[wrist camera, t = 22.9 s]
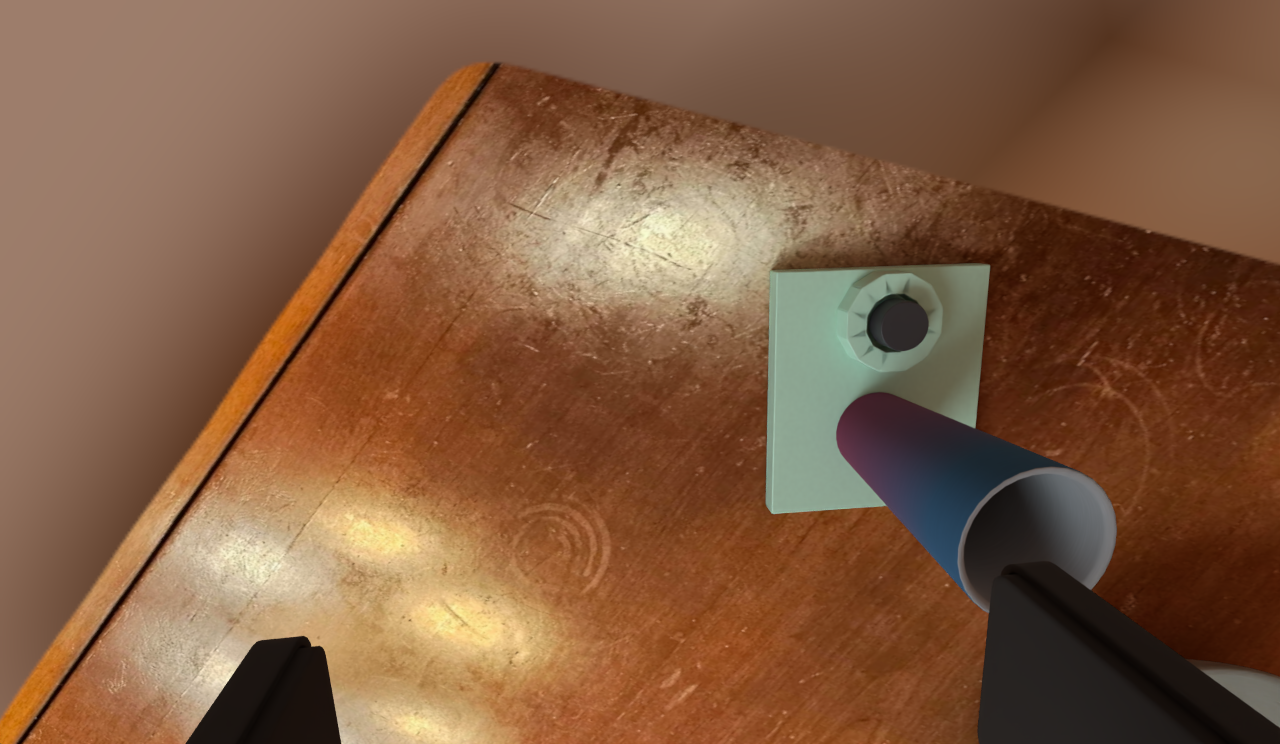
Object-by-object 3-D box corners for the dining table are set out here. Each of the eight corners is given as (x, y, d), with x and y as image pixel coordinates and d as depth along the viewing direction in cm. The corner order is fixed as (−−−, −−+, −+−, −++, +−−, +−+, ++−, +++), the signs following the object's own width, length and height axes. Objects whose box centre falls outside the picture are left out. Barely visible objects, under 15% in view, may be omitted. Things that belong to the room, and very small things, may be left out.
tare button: (870, 298, 39) (882, 302, 37) (917, 297, 39) (931, 300, 38) (867, 347, 39) (879, 352, 38) (913, 345, 40) (927, 350, 38)
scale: (769, 269, 41) (785, 274, 38) (977, 262, 42) (1008, 266, 39) (765, 505, 44) (779, 525, 41) (957, 491, 45) (984, 511, 42)
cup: (898, 356, 41) (1079, 434, 27) (945, 444, 43) (1141, 564, 28) (801, 417, 41) (929, 527, 27) (852, 503, 43) (999, 651, 28)
